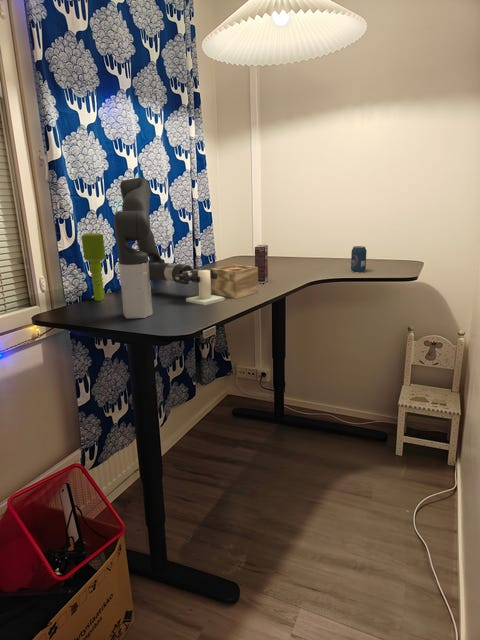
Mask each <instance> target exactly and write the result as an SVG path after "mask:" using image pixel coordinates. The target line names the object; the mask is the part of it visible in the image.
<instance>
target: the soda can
mask: <svg viewBox="0 0 480 640" xmlns="http://www.w3.org/2000/svg"><path fill="white" fill-rule="evenodd" d="M366 268H367V249H366V246H361V245H357V246H353V247H352V250H351V256H350V271H351V272H352V271H353V272H352V273H354V272H363V273H365V271H366V270H367V269H366Z"/></svg>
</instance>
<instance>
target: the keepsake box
mask: <svg viewBox="0 0 480 640" xmlns="http://www.w3.org/2000/svg"><path fill="white" fill-rule="evenodd" d="M210 270H212V271H213V273H217V279H211V278H210V281H211V295H215V296H220V297H228V298H233V299H238V298H242V297H246V296H249V295H254V294H257V293H259V284H258V267H255V266H253V265H252V266H251V265H240V264H229V265H223V266H219V267H214V268H213V267H212V268H210Z"/></svg>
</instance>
